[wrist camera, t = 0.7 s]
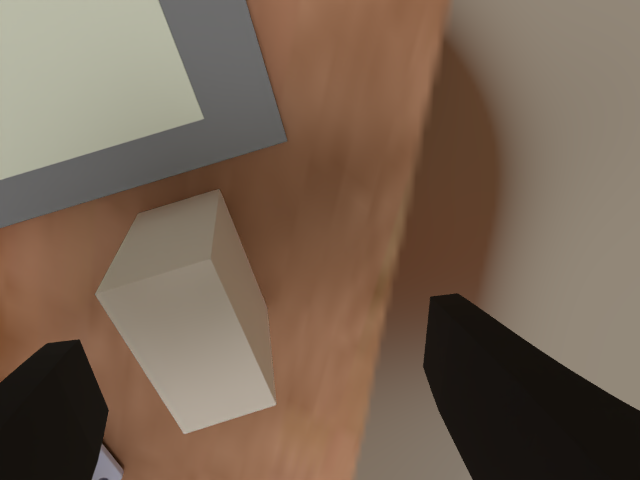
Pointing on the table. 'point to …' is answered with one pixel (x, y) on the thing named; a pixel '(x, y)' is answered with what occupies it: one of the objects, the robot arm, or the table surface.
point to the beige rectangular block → (192, 312)
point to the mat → (124, 96)
